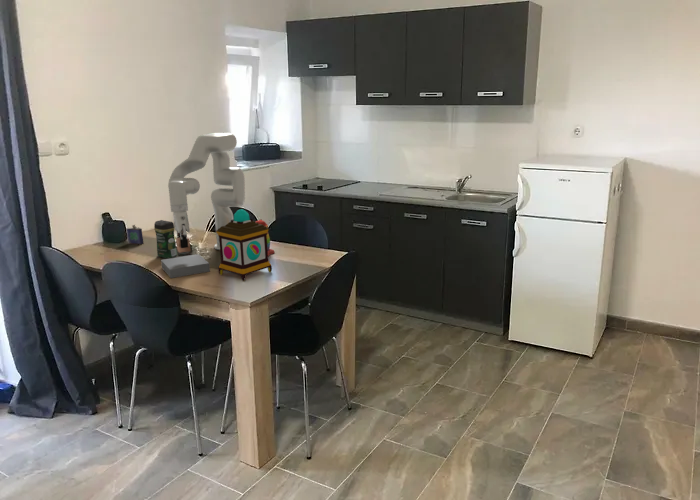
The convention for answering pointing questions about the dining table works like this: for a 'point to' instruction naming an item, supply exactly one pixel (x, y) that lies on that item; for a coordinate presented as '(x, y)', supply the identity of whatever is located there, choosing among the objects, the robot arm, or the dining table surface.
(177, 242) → the terracotta block
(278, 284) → the dining table surface
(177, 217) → the robot arm
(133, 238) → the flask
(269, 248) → the stacking bear
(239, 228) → the decorative lantern
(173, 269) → the gray square slab
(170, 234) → the coffee jar
